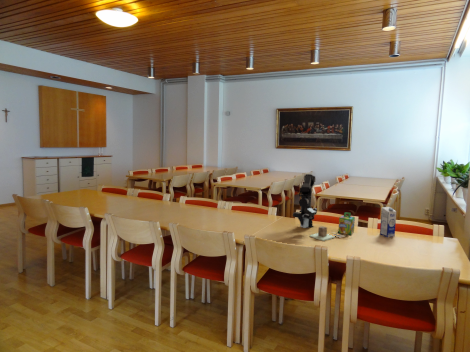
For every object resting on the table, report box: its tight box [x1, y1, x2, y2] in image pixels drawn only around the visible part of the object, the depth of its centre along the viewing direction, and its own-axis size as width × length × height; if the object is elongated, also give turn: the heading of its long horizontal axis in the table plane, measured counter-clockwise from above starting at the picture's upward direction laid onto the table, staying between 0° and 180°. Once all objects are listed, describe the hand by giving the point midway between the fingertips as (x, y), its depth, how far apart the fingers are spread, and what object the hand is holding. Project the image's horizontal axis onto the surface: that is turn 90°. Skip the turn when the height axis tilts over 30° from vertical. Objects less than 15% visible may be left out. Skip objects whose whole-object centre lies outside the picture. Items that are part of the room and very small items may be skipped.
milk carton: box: [379, 206, 397, 238], centre depth 231 cm, size 7×7×20 cm
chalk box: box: [337, 212, 356, 236], centre depth 238 cm, size 9×9×15 cm
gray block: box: [299, 218, 309, 229], centre depth 234 cm, size 4×4×6 cm
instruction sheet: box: [333, 233, 346, 239], centre depth 232 cm, size 10×7×1 cm
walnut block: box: [317, 225, 328, 237], centre depth 227 cm, size 4×4×6 cm
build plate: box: [309, 232, 336, 242], centre depth 228 cm, size 12×12×1 cm
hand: (304, 225), depth 235 cm, fingers closed on gray block, 4 cm apart
